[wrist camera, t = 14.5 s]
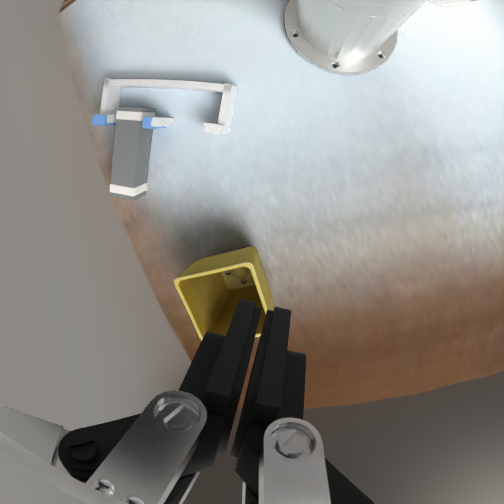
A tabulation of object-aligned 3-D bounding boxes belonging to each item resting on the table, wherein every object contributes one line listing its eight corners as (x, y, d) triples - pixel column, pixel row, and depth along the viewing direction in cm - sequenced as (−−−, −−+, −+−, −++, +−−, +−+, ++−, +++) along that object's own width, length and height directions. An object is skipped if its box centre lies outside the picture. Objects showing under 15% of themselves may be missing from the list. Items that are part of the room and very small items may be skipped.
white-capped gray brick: (132, 107, 34) (117, 106, 31) (156, 108, 33) (142, 107, 30) (124, 189, 38) (109, 195, 35) (146, 193, 38) (133, 200, 35)
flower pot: (282, 292, 40) (276, 335, 32) (221, 304, 43) (202, 345, 34) (263, 230, 37) (251, 261, 29) (198, 246, 40) (171, 278, 31)
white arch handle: (117, 80, 32) (98, 78, 28) (237, 87, 31) (228, 82, 27) (111, 123, 35) (92, 125, 31) (229, 136, 34) (219, 137, 30)
